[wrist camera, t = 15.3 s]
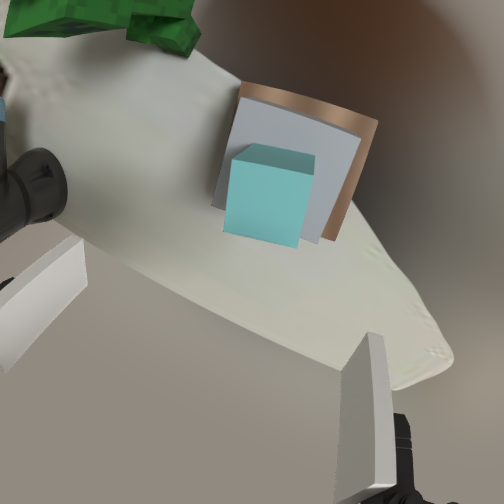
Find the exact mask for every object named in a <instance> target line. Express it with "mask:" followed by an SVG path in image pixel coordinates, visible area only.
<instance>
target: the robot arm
mask: <svg viewBox="0 0 504 504" xmlns="http://www.w3.org/2000/svg"><path fill="white" fill-rule="evenodd" d="M5 123H6V119H5V102H4V100H3V98H2V97H0V243H1V242H3V241H4V240H6V239H7V238H9V237H10V236H11V235H13V234H14V233H16V232H17V231H19V230H20V229H22V228H23V227H25V226H26V225H29V224H35V223H41V222H47V221H50V220H52V219H54V218H55V217H57V216H58V215H60V214H61V213H62V211H63V210H64V207H65V205H66V200H67V184H66V179H65V175H64V172H63V169H62V167H61V165H60V163H59V161H58V160H57V159H56V157H55V156H54V155H53V154H52V153H51V152H50V151H48V150H46V149H44V148H35V149H33V150H30V151H28V152H26V153H24V154H23V155H22V156H21V157H20V158H19V159H18V160H17V161H16V162H14V163H13V164H12V165H11V166H10V167H9V168H8V169H7V160H6V135H5ZM87 285H88V283H87V274H86V265H85V254H84V242H83V238H80V237H77V236H75V235H72V234H71V235H70V236H69V237H67V238H66V239H64V240H63V241H62V242H60V243H59V244H58V245H57V246H55V247H54V248H52V249H51V250H50V251H48V252H47V253H46V254H45V255H43V256H42V257H41V258H39V259H38V260H37V261H36V262H34V263H33V264H32V265H31V266H29V267H28V268H27V269H26V270H24V271H23V272H22V273H21V274H20V275H18V276H17V277H16V278H13V277H12V278H10V279H8V280H5V281H3V282H2V283H1V284H0V369H1V370H2V371H3V372H5V373H7V372H8V371H9V370H10V369H11V367H12V366H13V365H14V364H15V362H16V361H17V360H18V359H19V358H20V357H21V356H22V354H23V353H24V352H25V351H26V350H27V349H28V347H29V346H30V345H31V344H32V343H33V342H34V341H35V340H36V338H37V337H38V336H39V335H40V334H41V333H42V332H43V331H44V330H45V329H46V328H47V327H48V325H49V324H50V323H51V322H52V321H53V320H54V319H55V318H56V317H57V316H58V315H59V314H60V313H61V312H62V311H63V310H64V308H65V307H66V306H67V305H68V304H69V303H70V302H71V301H72V300H73V299H74V298H75V297H76V296H77V295H78V294H79V293H80V292H81V291H82V290H83V289H84V288H85V287H86V286H87ZM340 404H341V405H340V406H341V407H340V428H339V444H338V458H337V459H338V460H337V471H336V482H335V491H334V501H333V504H358V503H361V504H434V503H431V502H427V501H425V500H423V497H422V495H421V494H420V493H419V492H418V491H417V490H415V487H414V475H413V457H412V450H411V448H412V443H411V441H410V439H411V432H410V425H409V423H408V421H407V419H406V417H405V415H404V414H397V413H393V406H392V396H391V387H390V378H389V370H388V363H387V356H386V349H385V342H384V336H383V335H380V334H376V333H372V332H369V331H368V332H367V333H366V335H365V336H364V338H363V339H362V341H361V343H360V344H359V346H358V347H357V349H356V350H355V352H354V353H353V355H352V356H351V358H350V359H349V361H348V362H347V364H346V365H345V366H344V368H343V369H342V371H341V403H340ZM447 504H458V503H456V502H451V503H447Z"/></svg>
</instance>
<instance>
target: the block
mask: <svg viewBox="0 0 504 504" xmlns="http://www.w3.org/2000/svg"><path fill="white" fill-rule="evenodd" d="M314 166H315V155H311V154H307V153H302V152H298V151H293V150H288V149H283V148H278V147H273V146H268V145H262V144H257V143H254V144H252V145H251V146H249V147H248V148H247V149H245V150H244V151H242V152H241V153H240V154H238V155H237V156H236V157H234V158H233V159H232V163H231V171H230V179H229V187H228V195H227V204H226V212H225V221H224V230H223V232H227V233H231V234H236V235H240V236H244V237H249V238H253V239H258V240H262V241H266V242H271V243H275V244H279V245H284V246H288V247H292V248H297V246H298V242H299V238H300V233H301V229H302V225H303V221H304V216H305V212H306V208H307V203H308V199H309V195H310V190H311V186H312V181H313V177H314Z"/></svg>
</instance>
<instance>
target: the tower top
mask: <svg viewBox="0 0 504 504" xmlns="http://www.w3.org/2000/svg"><path fill="white" fill-rule="evenodd" d="M360 141H361V138H360V137H359V136H358V135H357V134H356V133H355V132H353V131H351V130H348V129H346V128H343V127H341V126H338V125H336V124H333V123H330V122H328V121H325V120H323V119H320V118H317V117H314V116H312V115H309V114H306V113H303V112H300V111H297V110H294V109H291V108H288V107H285V106H282V105H279V104H276V103H273V102H269V101H266V100H263V99H259V98H256V97H241V98H240V102H239V105H238V108H237V112H236V115H235V119H234V122H233V126H232V129H231V133H230V136H229V140H228V143H227V147H226V151H225V154H224V158H223V162H222V166H221V169H220V173H219V177H218V181H217V185H216V189H215V192H214V196H213V200H212V204H211V206H213V207H216V208H219V209H222V210H225V211H226V204H227V195H228V187H229V179H230V171H231V163H232V159H233V158H234V157H236V156H237V155H238V154H240V153H241V152H242V151H244V150H245V149H247V148H248V147H249V146H251V145H252V144H254V143H257V144H262V145H268V146H273V147H278V148H283V149H288V150H293V151H298V152H302V153H307V154H311V155H315V166H314V177H313V181H312V186H311V190H310V195H309V199H308V203H307V208H306V212H305V216H304V221H303V225H302V229H301V233H300V238H302V239H304V240H307V241H310V242H312V243H315V244H317V243H318V241H319V239H320V237H321V234H322V232H323V230H324V228H325V225H326V223H327V221H328V218H329V216H330V214H331V212H332V209H333V207H334V205H335V202H336V200H337V197H338V195H339V193H340V190H341V188H342V186H343V183H344V181H345V178H346V176H347V173H348V171H349V168H350V166H351V164H352V161H353V159H354V156H355V154H356V151H357V148H358V146H359V143H360Z"/></svg>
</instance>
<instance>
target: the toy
mask: <svg viewBox="0 0 504 504" xmlns="http://www.w3.org/2000/svg"><path fill="white" fill-rule="evenodd" d="M193 3H194V0H11V1H10V5H9V9H8V14H7V19H6V25H5V30H4V36H3V38H13V37H63V38H66V37H71V36H76V35H81V34H87V33H92V32H99V31H106V30H113V29H121V28H127V35H126V40H131V41H136V42H141V43H146V44H152V43H156V44H157V45H158V46H159V47H160V48H161V49H162V50H163V51H165V52H169V53H173V54H177V55H181V56H185V57H189V55H190V54H191V52H192V50H193V48H194V46H195V45H196V43H197V41H198V39H199V38H200V36H201V32H200V30H199V28H198V27H197V25H196V23H195V22H194V20H193V18H192V17H191V15H190V14H191V11H192V7H193Z"/></svg>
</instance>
